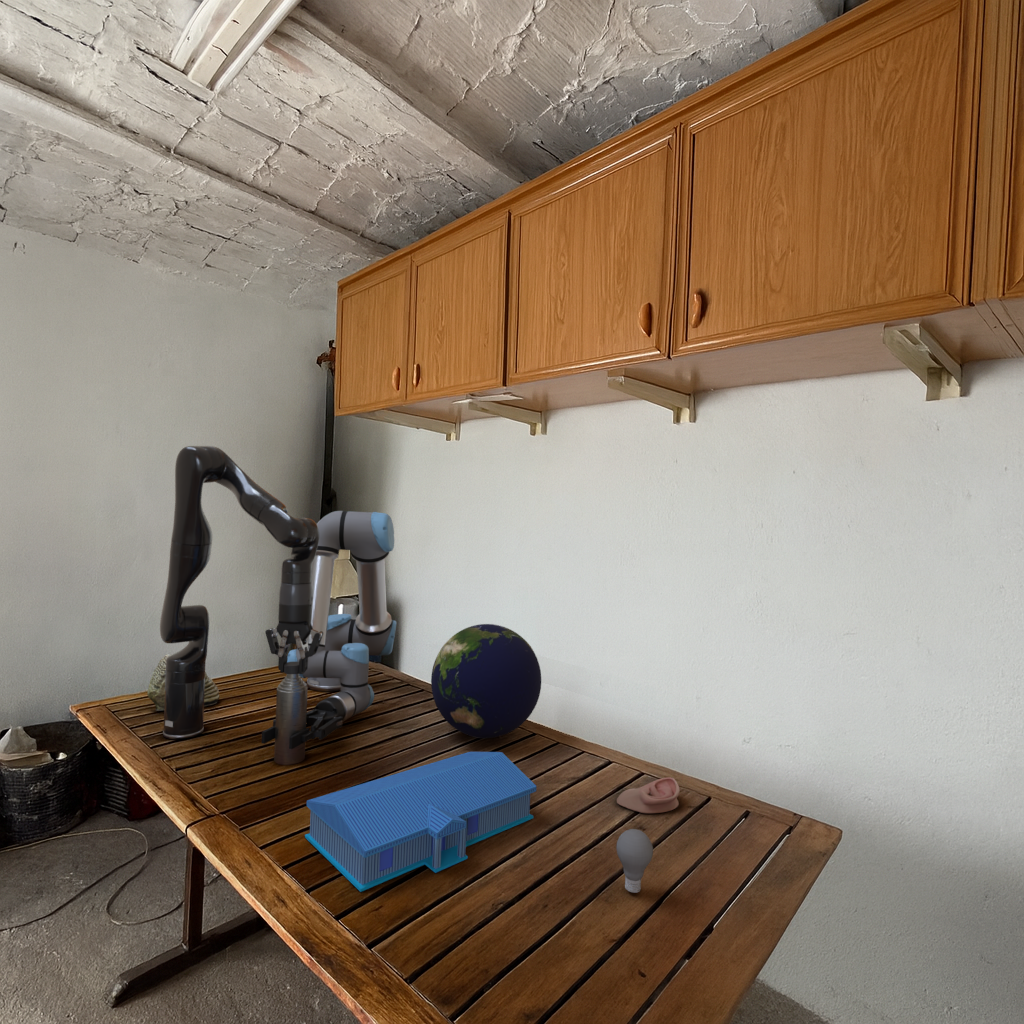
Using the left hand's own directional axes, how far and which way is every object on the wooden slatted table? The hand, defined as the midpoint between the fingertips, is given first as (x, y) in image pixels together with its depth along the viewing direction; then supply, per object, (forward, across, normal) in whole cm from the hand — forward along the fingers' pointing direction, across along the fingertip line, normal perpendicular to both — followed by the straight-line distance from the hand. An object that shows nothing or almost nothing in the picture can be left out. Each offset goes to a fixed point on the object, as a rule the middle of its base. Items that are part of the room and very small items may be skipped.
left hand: (292, 672), depth 152 cm
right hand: (+15, -1, -5) cm, 16 cm away
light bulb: (+21, +78, -39) cm, 89 cm away
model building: (+21, +40, -26) cm, 52 cm away
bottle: (+21, 0, 0) cm, 21 cm away
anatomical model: (+21, +84, -7) cm, 87 cm away
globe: (+21, +44, +25) cm, 54 cm away
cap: (-2, 0, 0) cm, 2 cm away
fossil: (+21, -46, +29) cm, 58 cm away
